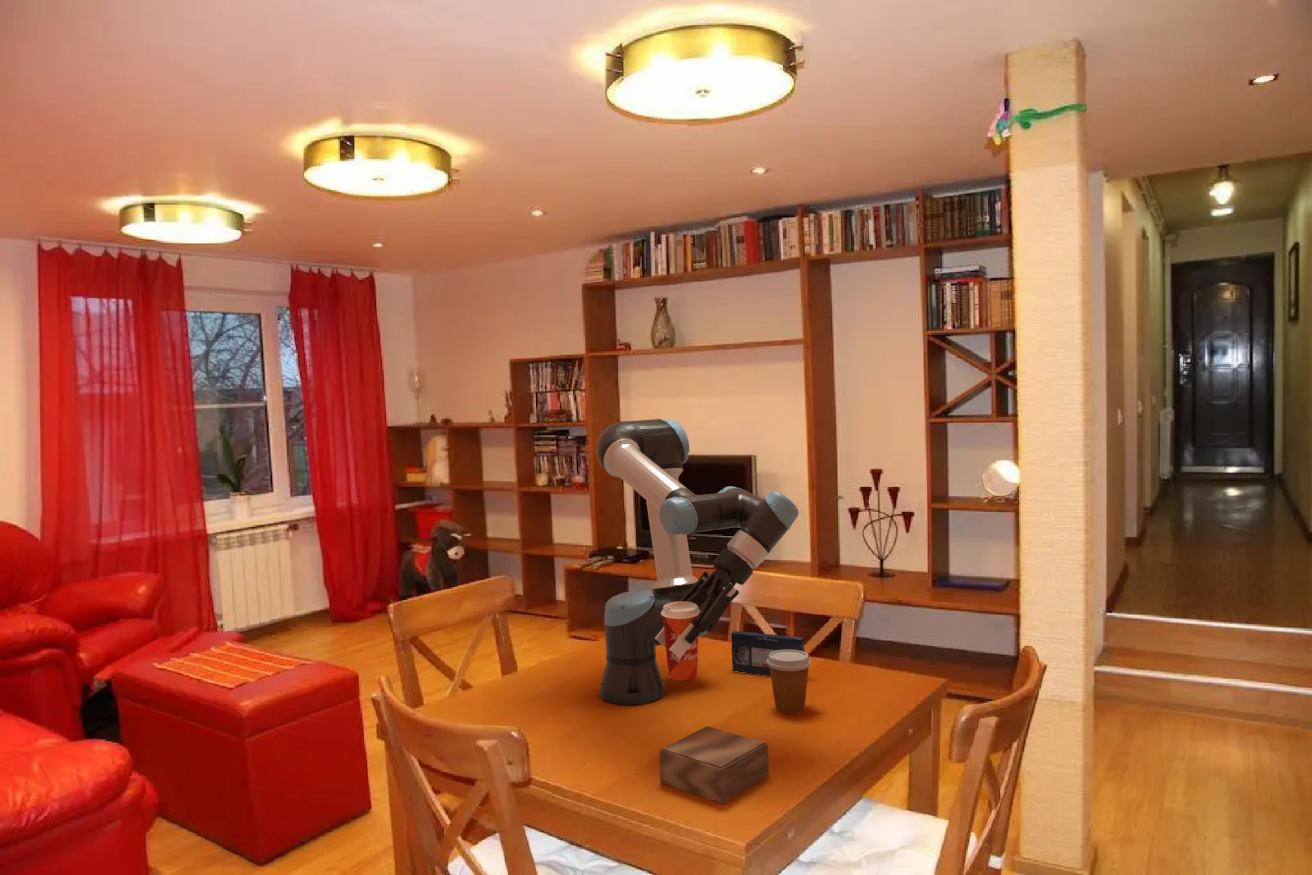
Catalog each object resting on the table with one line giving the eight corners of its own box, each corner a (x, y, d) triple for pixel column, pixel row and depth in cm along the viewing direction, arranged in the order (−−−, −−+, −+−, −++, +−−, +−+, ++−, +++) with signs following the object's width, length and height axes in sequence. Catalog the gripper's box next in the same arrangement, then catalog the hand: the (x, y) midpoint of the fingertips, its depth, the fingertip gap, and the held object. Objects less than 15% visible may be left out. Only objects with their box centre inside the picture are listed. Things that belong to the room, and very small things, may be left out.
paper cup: (675, 685, 171) (672, 614, 169) (656, 672, 178) (654, 604, 176) (710, 676, 174) (707, 607, 173) (690, 664, 181) (688, 597, 180)
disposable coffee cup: (811, 717, 190) (810, 662, 189) (766, 715, 192) (765, 661, 191) (812, 702, 199) (811, 649, 198) (769, 700, 201) (768, 648, 200)
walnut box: (660, 782, 161) (659, 748, 161) (707, 756, 171) (706, 725, 171) (722, 804, 152) (721, 768, 151) (768, 775, 162) (767, 741, 162)
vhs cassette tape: (731, 672, 223) (730, 632, 222) (736, 668, 225) (735, 629, 225) (801, 681, 214) (800, 640, 213) (806, 677, 216) (804, 637, 216)
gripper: (775, 580, 170) (699, 675, 165) (731, 561, 189) (662, 646, 185) (749, 555, 168) (671, 650, 163) (707, 539, 187) (637, 623, 183)
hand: (667, 648), depth 174 cm, fingers closed on paper cup, 8 cm apart
